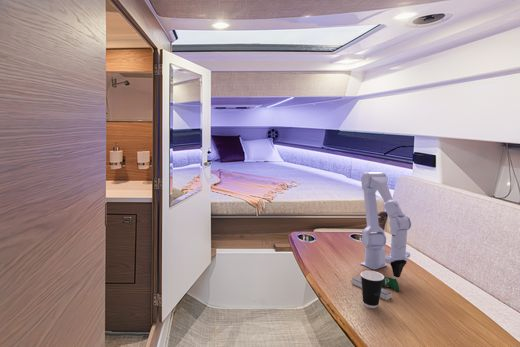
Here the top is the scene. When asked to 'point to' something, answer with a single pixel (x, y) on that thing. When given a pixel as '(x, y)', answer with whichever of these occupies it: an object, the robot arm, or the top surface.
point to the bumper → (384, 293)
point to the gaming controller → (391, 283)
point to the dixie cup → (371, 288)
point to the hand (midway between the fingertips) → (396, 276)
